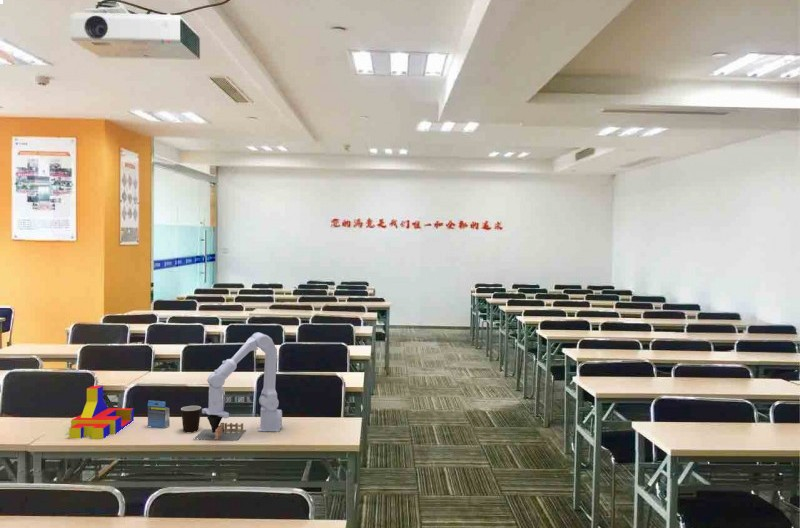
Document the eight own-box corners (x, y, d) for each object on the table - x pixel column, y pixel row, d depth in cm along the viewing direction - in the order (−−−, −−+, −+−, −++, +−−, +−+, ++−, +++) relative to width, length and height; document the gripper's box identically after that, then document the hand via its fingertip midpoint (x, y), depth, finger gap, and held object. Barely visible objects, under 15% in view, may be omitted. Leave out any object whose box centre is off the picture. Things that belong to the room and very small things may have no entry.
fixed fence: (243, 432, 256) (243, 422, 256) (242, 434, 254) (242, 423, 254) (220, 432, 256) (220, 422, 256) (219, 433, 254) (219, 423, 254)
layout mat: (246, 430, 259) (246, 429, 259) (237, 440, 245) (237, 439, 245) (204, 429, 259) (204, 429, 259) (192, 439, 245) (192, 439, 245)
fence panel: (220, 432, 254) (220, 423, 254) (222, 432, 254) (222, 423, 254) (215, 438, 246) (215, 429, 246) (217, 438, 246) (217, 429, 246)
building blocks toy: (63, 439, 244) (63, 396, 244) (92, 422, 269) (92, 383, 269) (108, 439, 245) (109, 396, 245) (133, 422, 270) (133, 383, 270)
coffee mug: (196, 433, 254) (197, 411, 254) (177, 433, 254) (177, 410, 254) (206, 425, 266) (206, 404, 265) (187, 425, 266) (187, 403, 266)
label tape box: (169, 426, 264) (170, 399, 264) (165, 428, 260) (165, 401, 260) (152, 424, 266) (152, 398, 265) (147, 427, 262) (147, 400, 261)
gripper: (196, 400, 249) (195, 431, 249) (220, 405, 242) (219, 437, 242) (209, 397, 255) (208, 427, 256) (232, 401, 248) (232, 433, 248)
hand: (214, 432), depth 249 cm, fingers closed
